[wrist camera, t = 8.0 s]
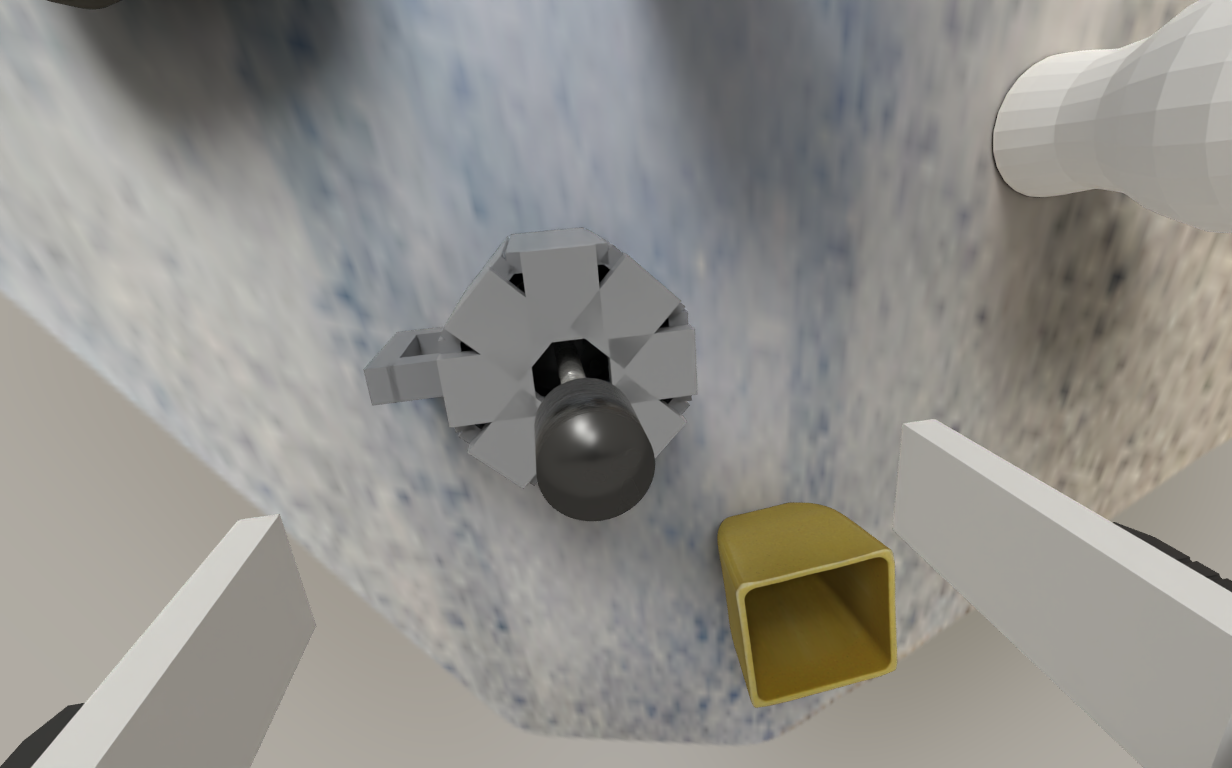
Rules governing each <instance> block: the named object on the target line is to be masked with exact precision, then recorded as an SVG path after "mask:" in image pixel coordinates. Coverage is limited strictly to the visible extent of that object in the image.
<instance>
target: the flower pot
mask: <svg viewBox="0 0 1232 768" xmlns="http://www.w3.org/2000/svg"><path fill="white" fill-rule="evenodd" d="M717 540H718V549H719V555H720V561H721V567H722V573H723V579H724V586H725V592H726V600H727V607H728V615H729V623H730V629H731V634H732V639H733V642H734V646H735V649H736V653H737V656H738V659H739V662H740V666H741V669H742V672H743V676H744V679H745V682H746V686H747V689H748V693H749V696H750V699H751V702H752V704H753V706H754V707H755V708H758V707H765V706H770V705H775V704H779V703H783V702H788V701H791V700H795V699H799V698H802V697H806V696H810V695H813V694H817V693H821V692H824V691H828V690H832V689H835V688H839V687H842V686H846V685H850V684H853V683H857V682H861V681H865V680H869V679H873V678H876V677H879V676H882V675H885V674H887V673H890V672H892V671H894V670H896V667H897V640H896V615H895V562H894V556H893V552H892V551H891V550H890V549H889V548H888V547H886V546H885V545H884V544H882V543H881V542H880V541H878V540H877V539H876V538H874V537H873V536H872V535H870V534H869V533H868V532H866V531H865V530H864V529H862V528H861V527H860V526H858V525H857V524H856V523H854V522H853V521H851V520H850V519H849V518H847V517H846V516H844V515H843V514H841V513H840V512H838V511H836V510H834V509H832V508H829V507H826V506H823V505H819V504H813V503H785V504H782V505H777V506H773V507H770V508H765V509H761V510H757V511H753V512H749V513H745V514H740V515H736V516H731V517H728V518H726V519H725V520H724V521H723V522H722V523H721V525H720V527H719V530H718V535H717Z"/></svg>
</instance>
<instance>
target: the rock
mask: <svg viewBox="0 0 1232 768" xmlns="http://www.w3.org/2000/svg"><path fill="white" fill-rule="evenodd" d="M48 1H51V2H55V3H60V4H65V5H69V6H74V7H79V8H84V9H100V8H105V7H108V6H110V5H112V4H115V3H117V2H119V1H121V0H48Z"/></svg>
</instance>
